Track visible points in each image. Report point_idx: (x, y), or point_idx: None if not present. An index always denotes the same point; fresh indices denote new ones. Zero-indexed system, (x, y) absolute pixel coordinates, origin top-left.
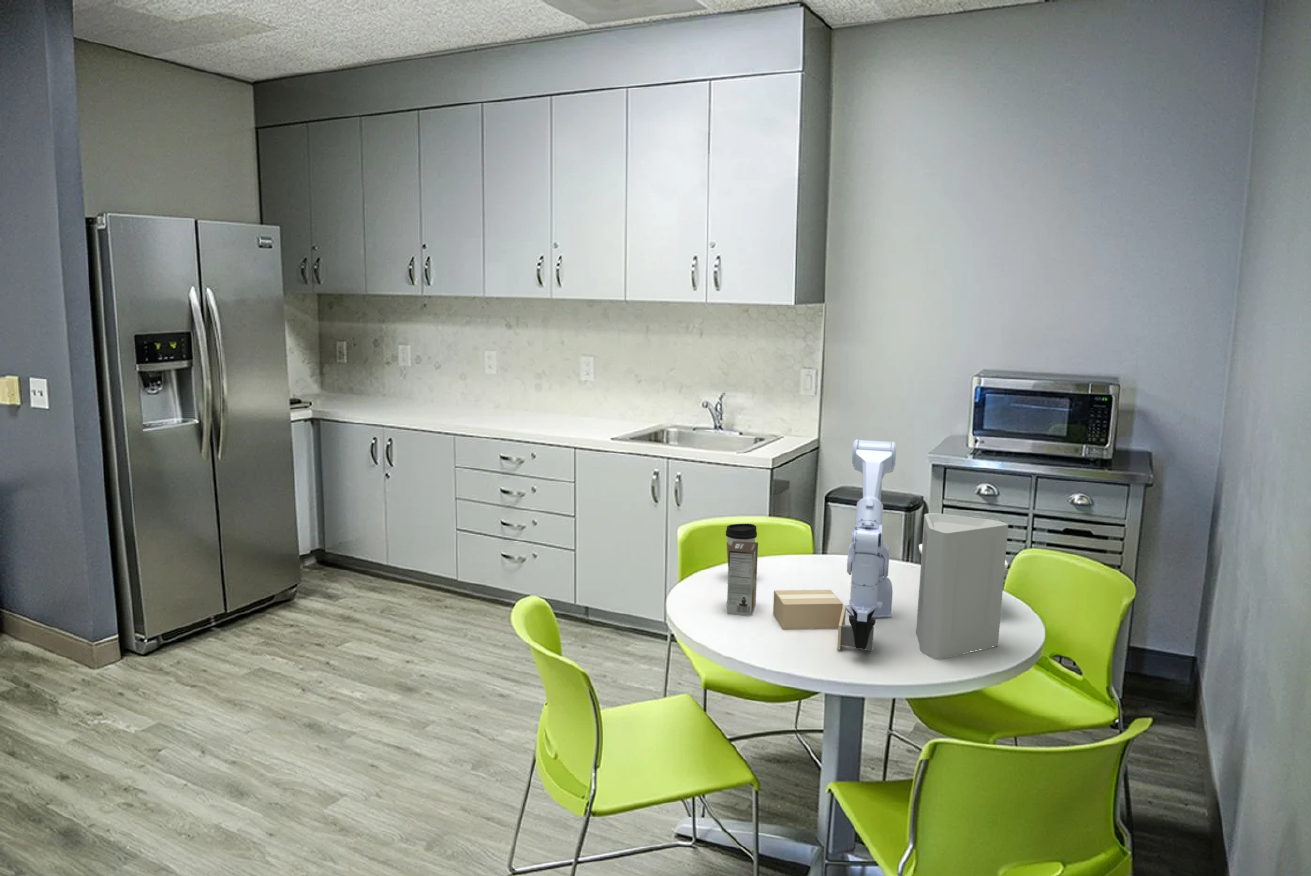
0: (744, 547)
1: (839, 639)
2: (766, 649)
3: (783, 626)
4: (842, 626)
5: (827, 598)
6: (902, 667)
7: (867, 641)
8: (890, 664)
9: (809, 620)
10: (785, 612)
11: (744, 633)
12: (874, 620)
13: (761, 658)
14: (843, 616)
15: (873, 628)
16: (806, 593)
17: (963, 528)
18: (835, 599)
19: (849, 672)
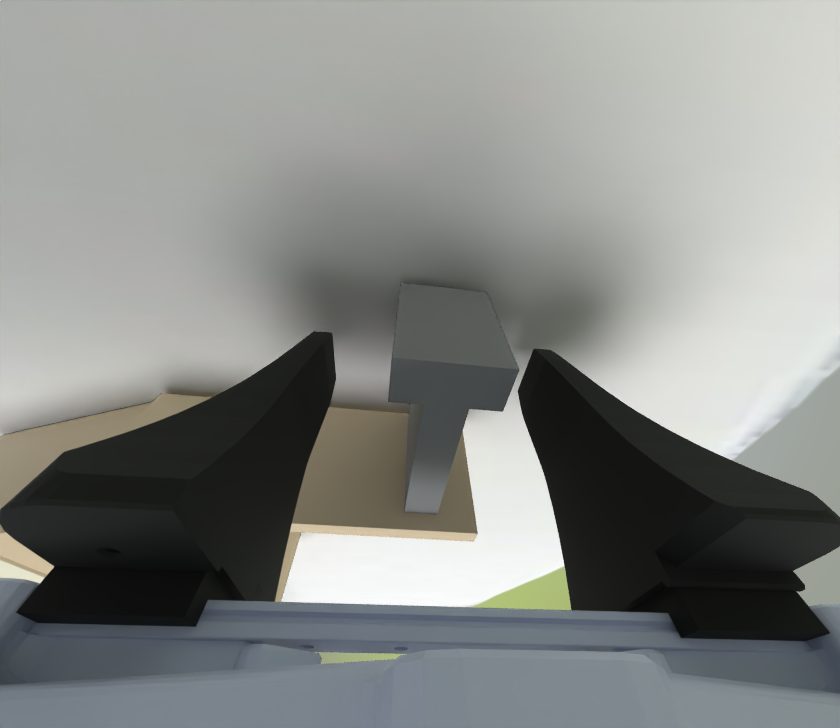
0: None
1: (466, 461)
2: (471, 552)
3: (297, 542)
4: (437, 511)
5: (34, 571)
6: (739, 66)
7: (584, 375)
8: (655, 172)
9: None
10: (278, 596)
11: (371, 578)
12: (782, 526)
13: (534, 556)
14: (296, 522)
15: (438, 362)
16: None
17: None
18: (1, 548)
19: (697, 390)
